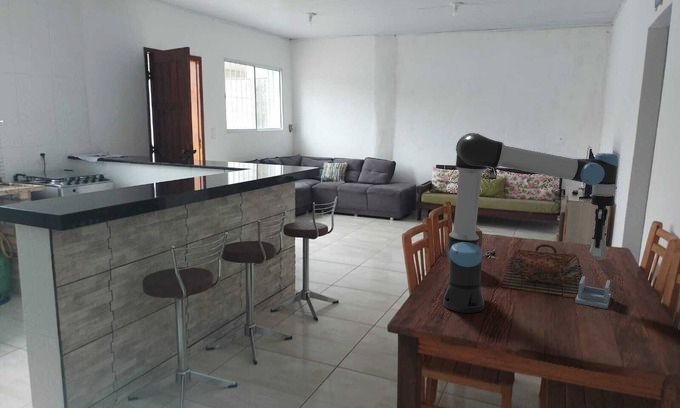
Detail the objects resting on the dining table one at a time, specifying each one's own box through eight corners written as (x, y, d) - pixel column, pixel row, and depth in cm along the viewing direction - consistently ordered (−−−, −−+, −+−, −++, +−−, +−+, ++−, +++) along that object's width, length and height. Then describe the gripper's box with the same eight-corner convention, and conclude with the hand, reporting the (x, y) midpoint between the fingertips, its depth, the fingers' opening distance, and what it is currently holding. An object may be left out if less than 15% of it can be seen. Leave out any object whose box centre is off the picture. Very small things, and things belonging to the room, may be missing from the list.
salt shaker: (607, 260, 184) (611, 227, 182) (591, 260, 185) (594, 226, 183) (602, 256, 190) (606, 224, 187) (587, 255, 191) (590, 223, 189)
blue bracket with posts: (607, 308, 182) (609, 289, 181) (575, 302, 188) (576, 284, 186) (610, 297, 194) (612, 279, 192) (579, 291, 199) (581, 274, 198)
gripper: (612, 199, 173) (606, 261, 177) (616, 192, 189) (610, 249, 193) (589, 197, 177) (583, 258, 181) (594, 190, 193) (589, 246, 197)
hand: (597, 253), depth 187 cm, fingers closed on salt shaker, 6 cm apart
